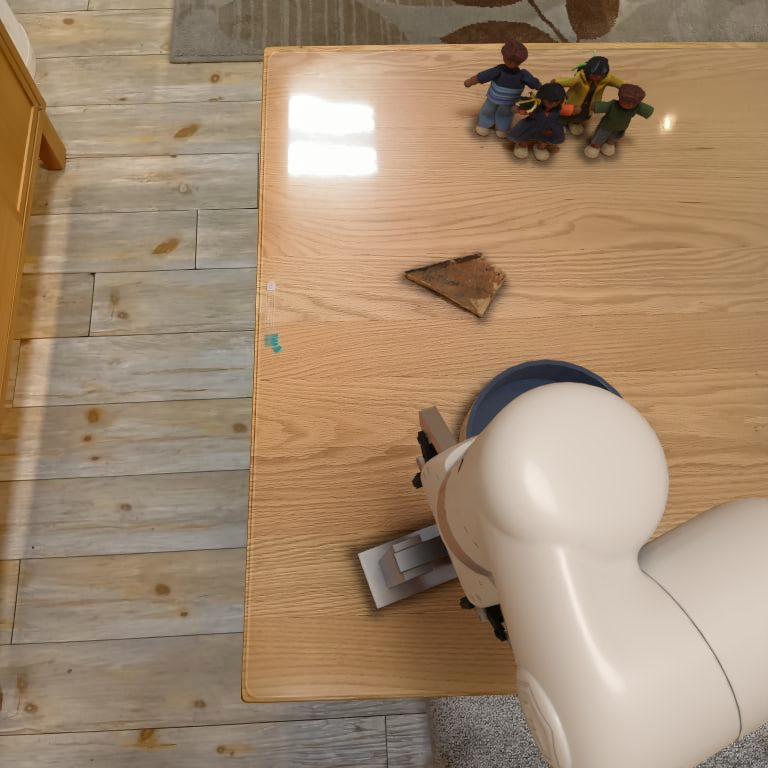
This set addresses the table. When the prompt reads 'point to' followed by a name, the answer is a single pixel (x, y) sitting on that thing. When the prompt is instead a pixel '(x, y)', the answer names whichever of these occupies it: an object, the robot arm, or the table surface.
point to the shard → (462, 280)
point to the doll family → (556, 104)
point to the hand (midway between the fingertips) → (454, 536)
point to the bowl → (523, 389)
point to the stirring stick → (419, 554)
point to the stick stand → (396, 586)
